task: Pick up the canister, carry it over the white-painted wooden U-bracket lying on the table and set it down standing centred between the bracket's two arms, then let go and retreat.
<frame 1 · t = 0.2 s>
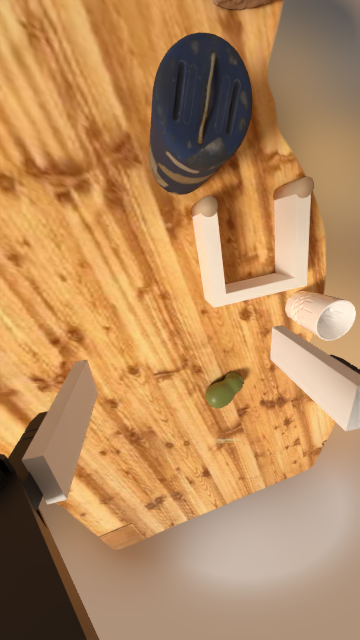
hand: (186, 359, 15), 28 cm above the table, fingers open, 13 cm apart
pear: (221, 383, 52), on the table
bracket: (243, 241, 40), on the table
white cup: (298, 304, 47), on the table
canister: (178, 163, 34), on the table
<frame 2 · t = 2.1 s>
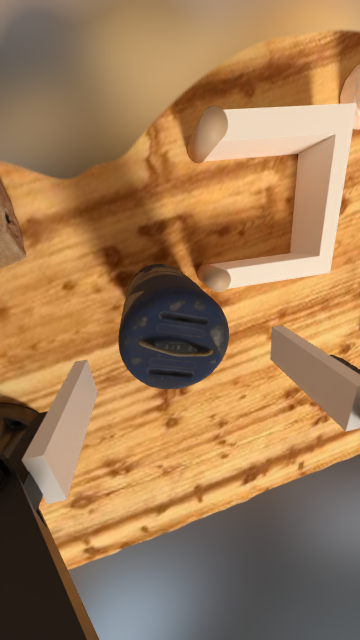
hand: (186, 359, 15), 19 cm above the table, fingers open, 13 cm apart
bracket: (246, 212, 30), on the table
canister: (159, 294, 33), on the table
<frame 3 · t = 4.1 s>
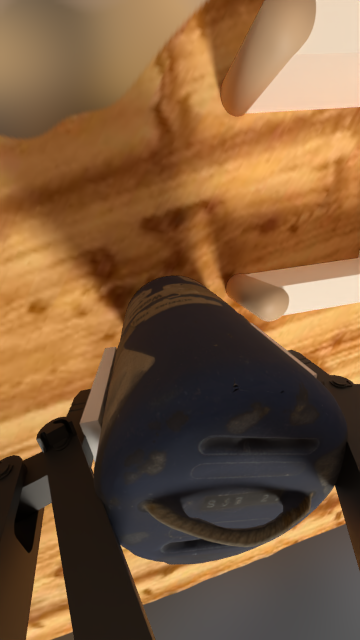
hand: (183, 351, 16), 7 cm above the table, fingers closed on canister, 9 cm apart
bracket: (302, 197, 20), on the table
canister: (171, 317, 23), on the table, touching gripper
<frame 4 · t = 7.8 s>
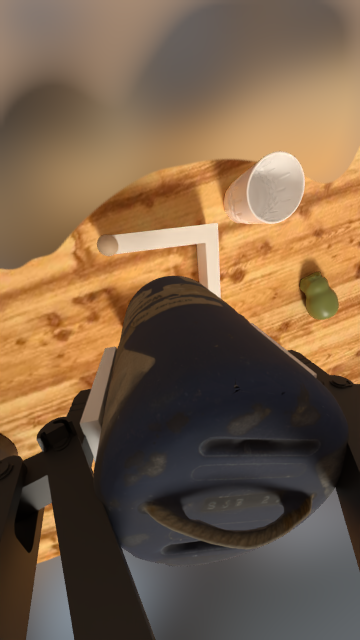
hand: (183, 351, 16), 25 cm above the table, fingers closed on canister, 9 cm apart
pear: (309, 293, 45), on the table
bracket: (159, 284, 39), on the table
white cup: (241, 201, 36), on the table
canister: (171, 317, 23), point 17 cm above the table, touching gripper
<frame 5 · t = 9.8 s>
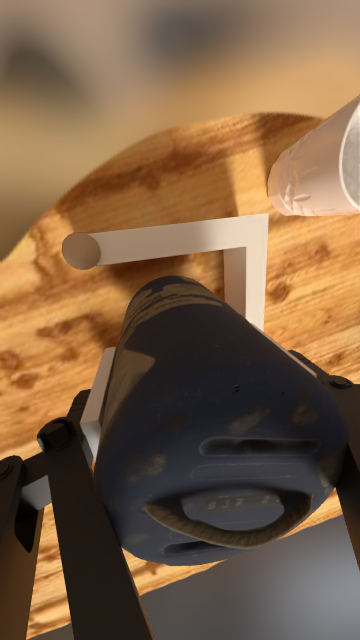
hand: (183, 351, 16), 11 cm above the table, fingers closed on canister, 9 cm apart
bracket: (166, 306, 26), on the table
white cup: (293, 183, 24), on the table
canister: (171, 317, 23), point 4 cm above the table, touching gripper
when the fingers open (8 cm above the table, at t = 11.6 s): canister stays where it is, on the table.
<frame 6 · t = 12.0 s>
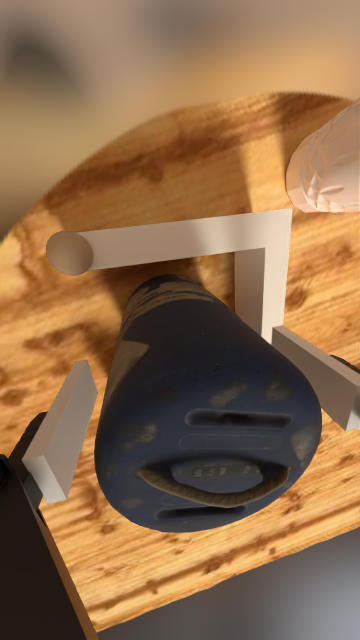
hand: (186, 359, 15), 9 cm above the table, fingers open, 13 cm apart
bracket: (170, 314, 23), on the table
white cup: (315, 175, 21), on the table
canister: (168, 314, 24), on the table
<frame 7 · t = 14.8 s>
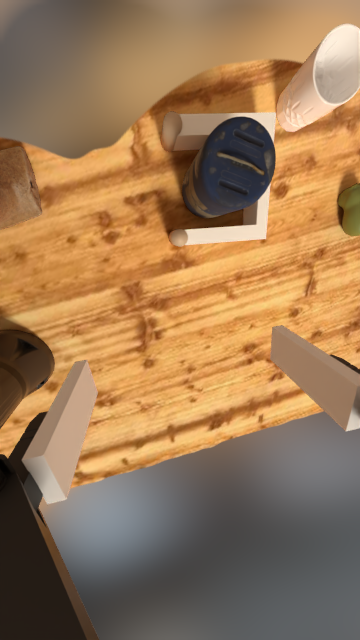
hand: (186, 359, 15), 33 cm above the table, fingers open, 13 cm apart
pear: (346, 211, 45), on the table
bracket: (206, 191, 40), on the table
white cup: (293, 109, 37), on the table
stone cup: (5, 202, 37), on the table
canister: (205, 192, 40), on the table
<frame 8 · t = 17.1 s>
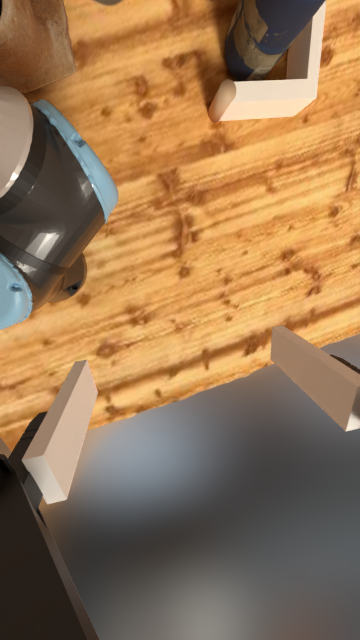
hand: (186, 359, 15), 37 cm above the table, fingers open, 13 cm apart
bracket: (248, 54, 37), on the table
stone cup: (35, 61, 34), on the table
canister: (247, 55, 38), on the table
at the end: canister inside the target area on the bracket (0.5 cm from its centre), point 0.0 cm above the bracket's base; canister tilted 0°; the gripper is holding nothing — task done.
